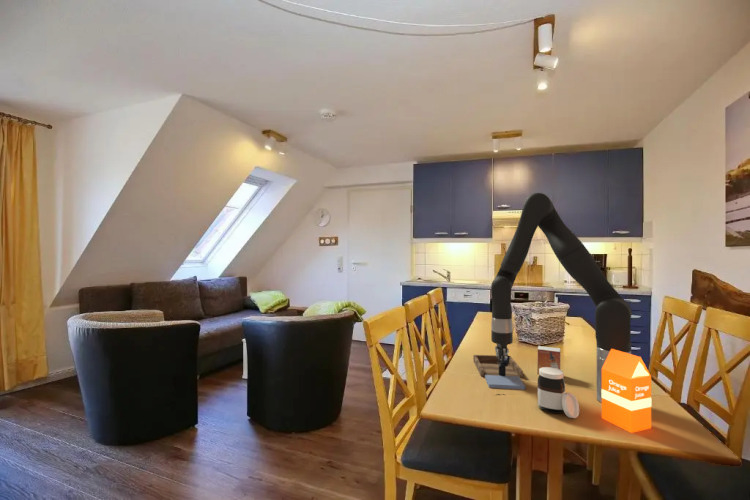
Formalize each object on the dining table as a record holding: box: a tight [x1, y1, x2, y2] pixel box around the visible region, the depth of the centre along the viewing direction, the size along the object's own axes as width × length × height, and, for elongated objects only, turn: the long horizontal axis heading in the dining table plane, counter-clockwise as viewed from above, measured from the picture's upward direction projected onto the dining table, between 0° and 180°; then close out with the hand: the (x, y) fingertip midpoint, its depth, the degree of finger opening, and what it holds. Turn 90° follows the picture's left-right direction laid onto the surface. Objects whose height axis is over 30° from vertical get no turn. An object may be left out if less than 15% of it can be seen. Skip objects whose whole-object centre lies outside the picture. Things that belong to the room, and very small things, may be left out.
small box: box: [536, 345, 561, 375], centre depth 137 cm, size 8×6×10 cm
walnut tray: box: [473, 354, 524, 379], centre depth 142 cm, size 18×15×4 cm
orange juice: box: [601, 349, 652, 434], centre depth 100 cm, size 8×9×20 cm
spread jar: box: [537, 367, 580, 419], centre depth 108 cm, size 12×11×12 cm
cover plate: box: [484, 375, 526, 390], centre depth 127 cm, size 9×12×2 cm
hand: (502, 375), depth 132 cm, fingers closed
